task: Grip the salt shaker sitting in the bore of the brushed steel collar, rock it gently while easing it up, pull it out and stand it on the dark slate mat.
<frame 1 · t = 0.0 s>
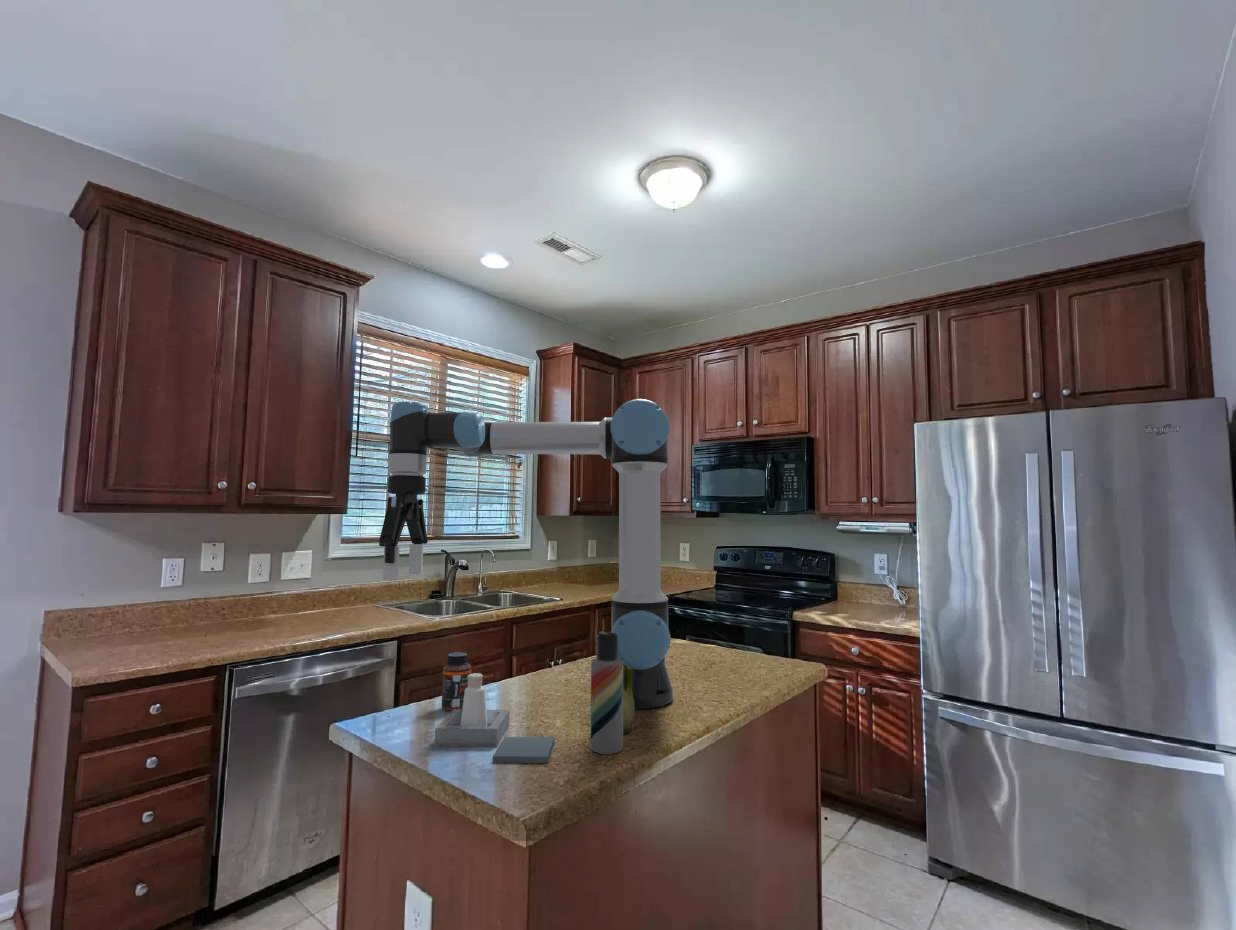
hand: (403, 577, 126), 28 cm above the countertop, tool pointing down, fingers open, 13 cm apart
salt shaker: (473, 736, 112), resting in collar
lotion bottle: (606, 750, 105), on the countertop
collar: (473, 735, 112), on the countertop
supplement bottle: (455, 709, 128), on the countertop
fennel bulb: (619, 732, 114), on the countertop
mat: (525, 752, 104), on the countertop
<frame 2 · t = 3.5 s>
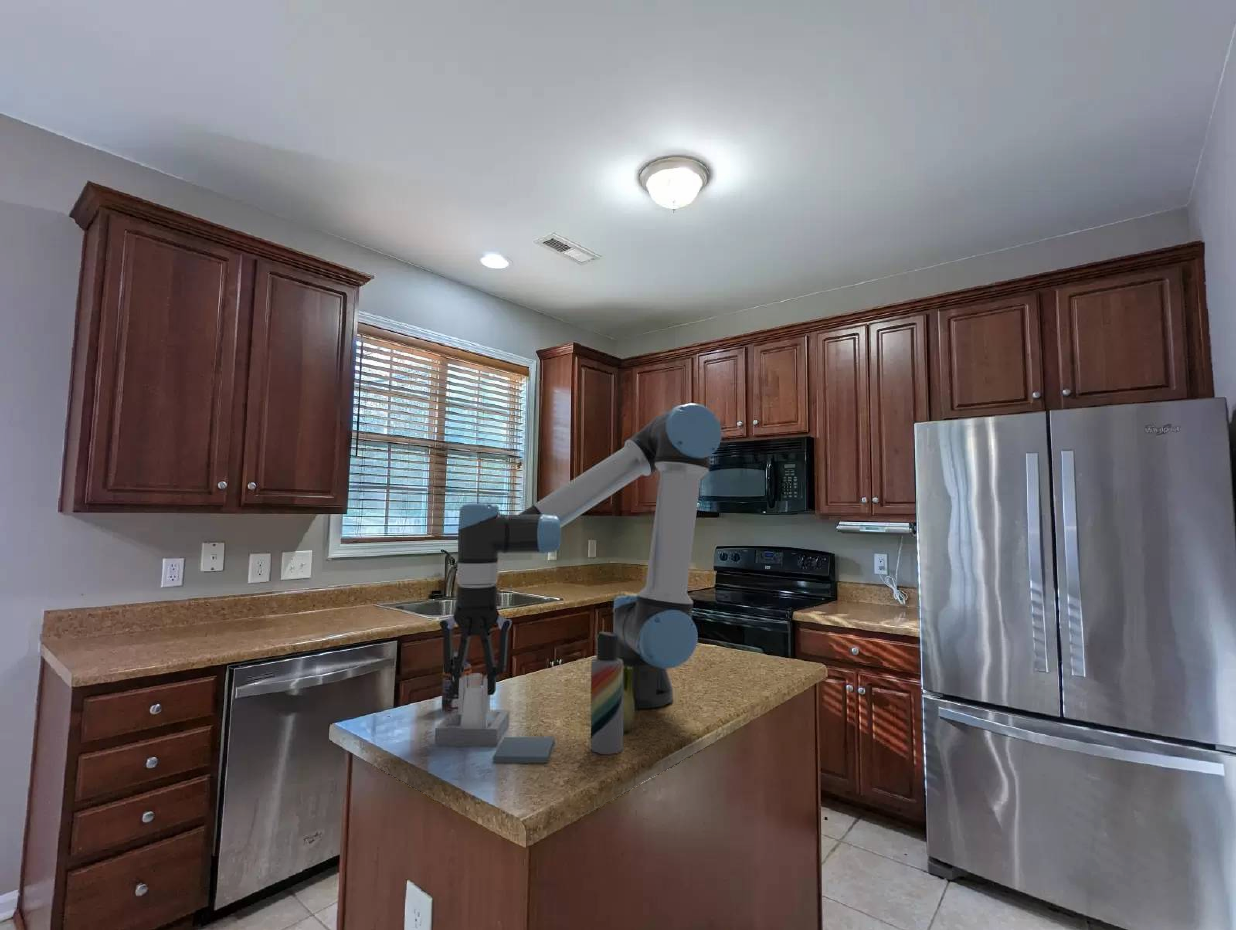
hand: (474, 712, 112), 4 cm above the countertop, tool pointing down, fingers closed on salt shaker, 4 cm apart
salt shaker: (473, 736, 112), resting in collar, touching gripper
everything else where it was.
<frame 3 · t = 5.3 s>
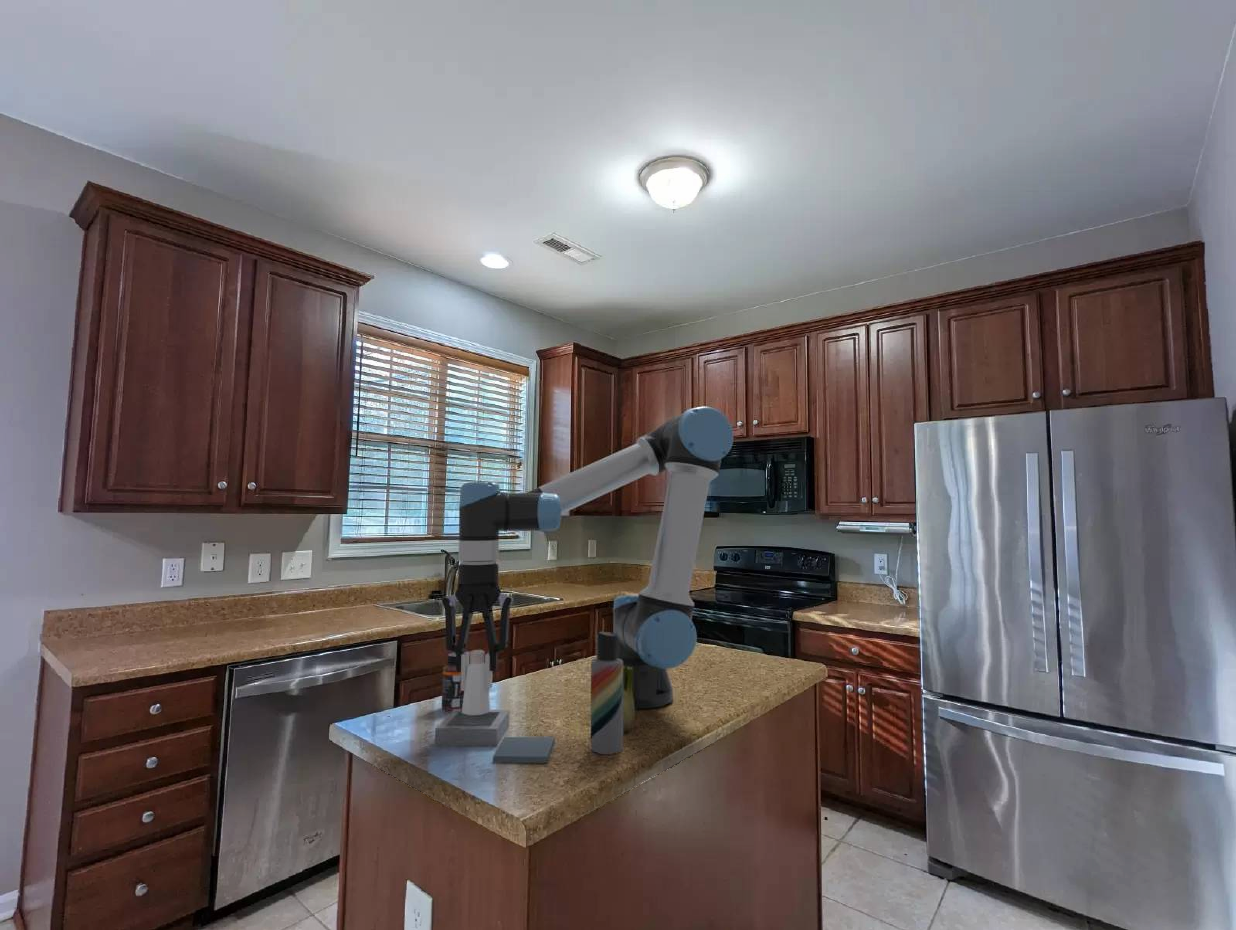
hand: (476, 688, 113), 8 cm above the countertop, tool pointing down, fingers closed on salt shaker, 4 cm apart
salt shaker: (476, 712, 113), point 4 cm above the countertop, touching gripper
everything else where it was.
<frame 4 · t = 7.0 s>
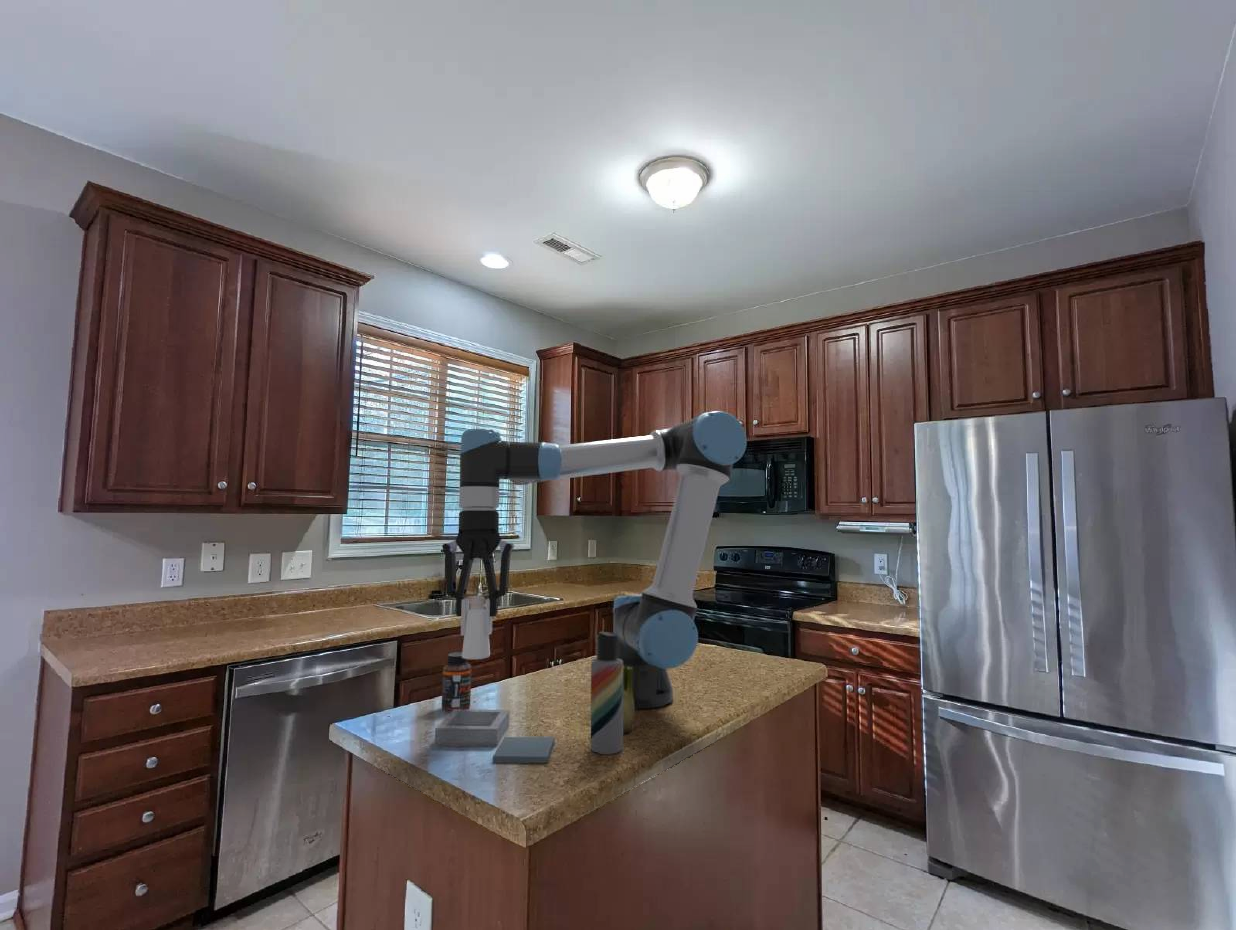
hand: (476, 633, 114), 18 cm above the countertop, tool pointing down, fingers closed on salt shaker, 4 cm apart
salt shaker: (476, 657, 113), point 14 cm above the countertop, touching gripper
everything else where it was.
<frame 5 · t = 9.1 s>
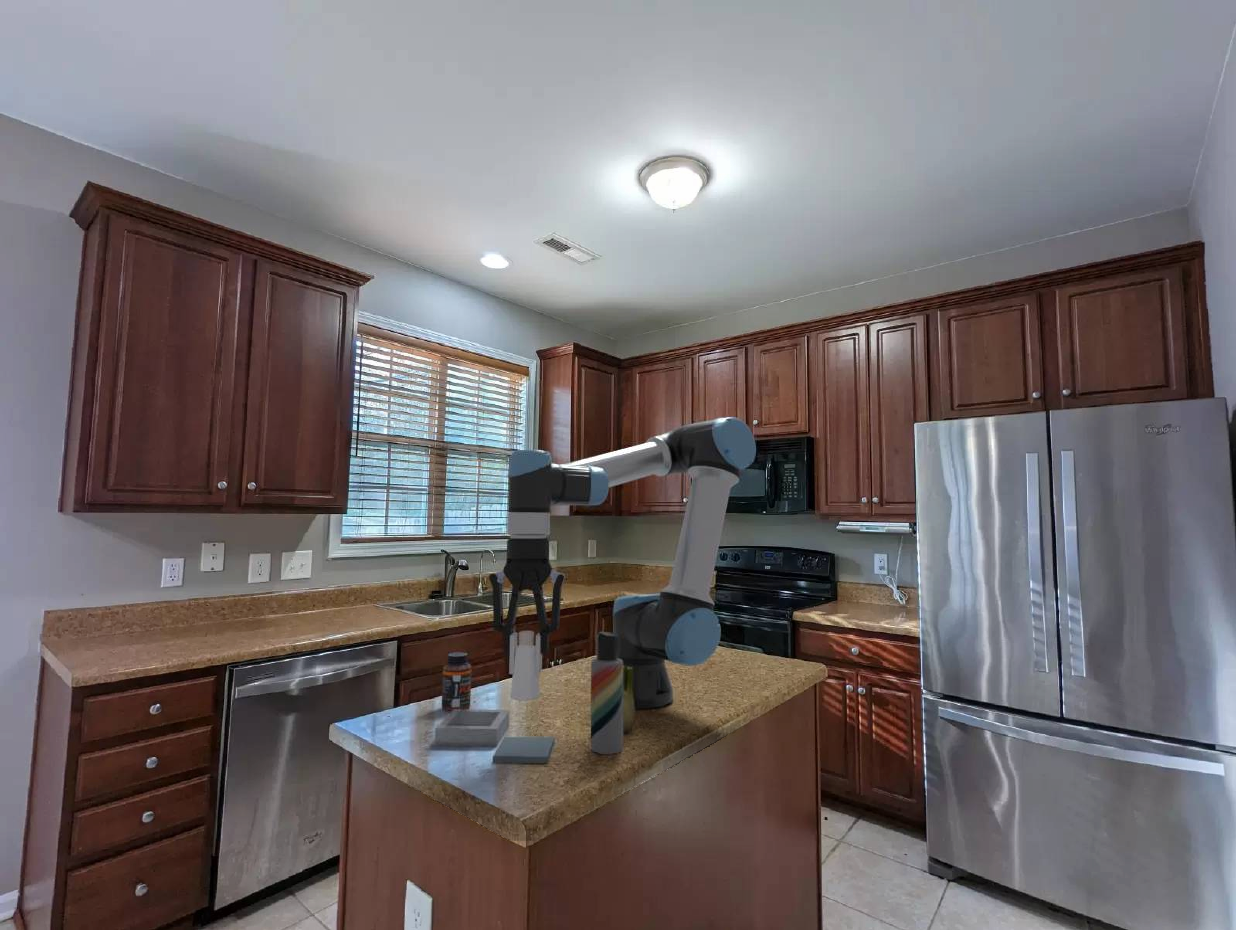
hand: (525, 672, 105), 13 cm above the countertop, tool pointing down, fingers closed on salt shaker, 4 cm apart
salt shaker: (525, 697, 105), point 9 cm above the countertop, touching gripper
everything else where it was.
when the fingers open (7 cm above the countertop, at t = 10.5 s): salt shaker drops 1 cm, resting on mat.
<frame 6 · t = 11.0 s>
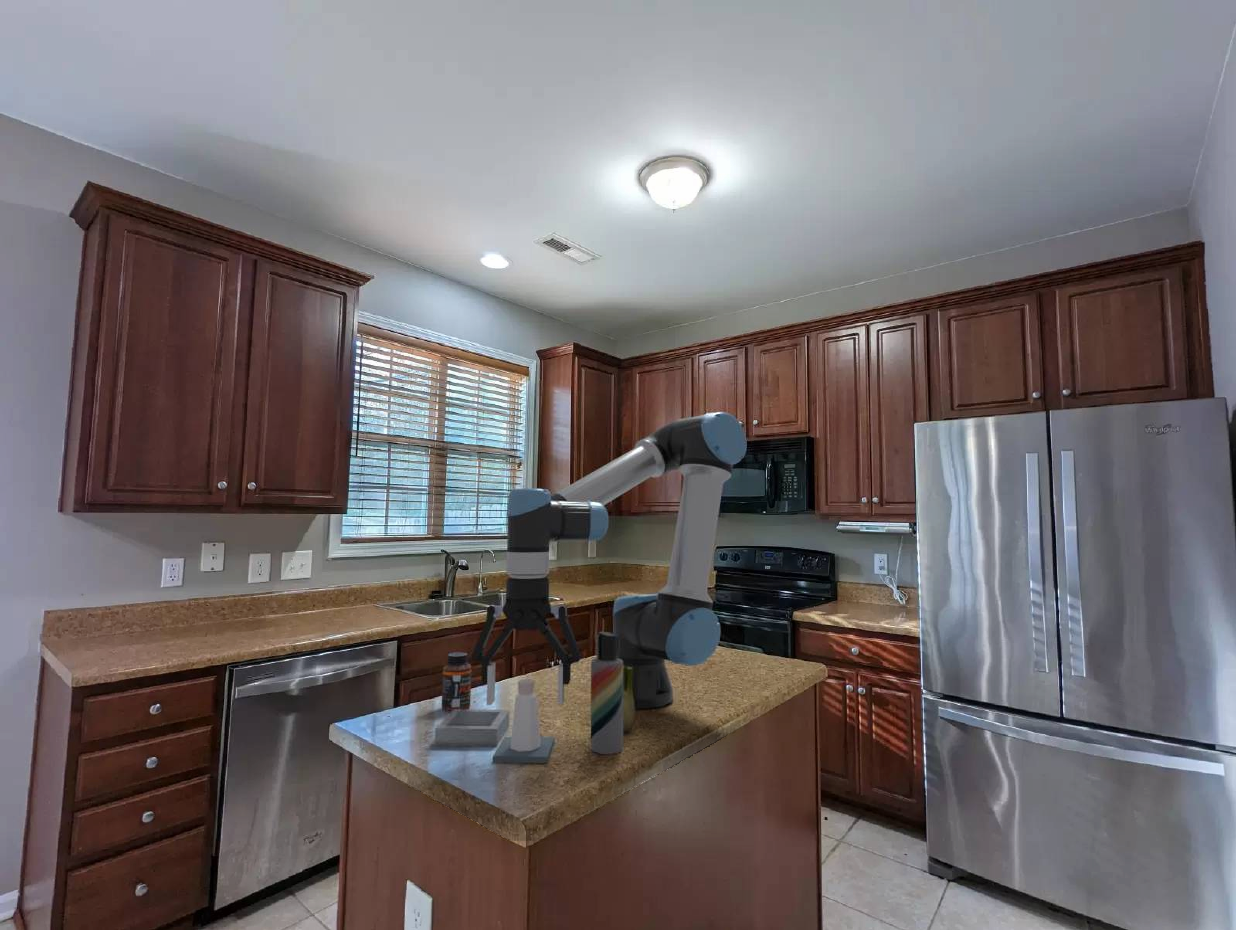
hand: (525, 703, 105), 8 cm above the countertop, tool pointing down, fingers open, 11 cm apart
salt shaker: (525, 747, 104), point 1 cm above the countertop, touching mat
everything else where it was.
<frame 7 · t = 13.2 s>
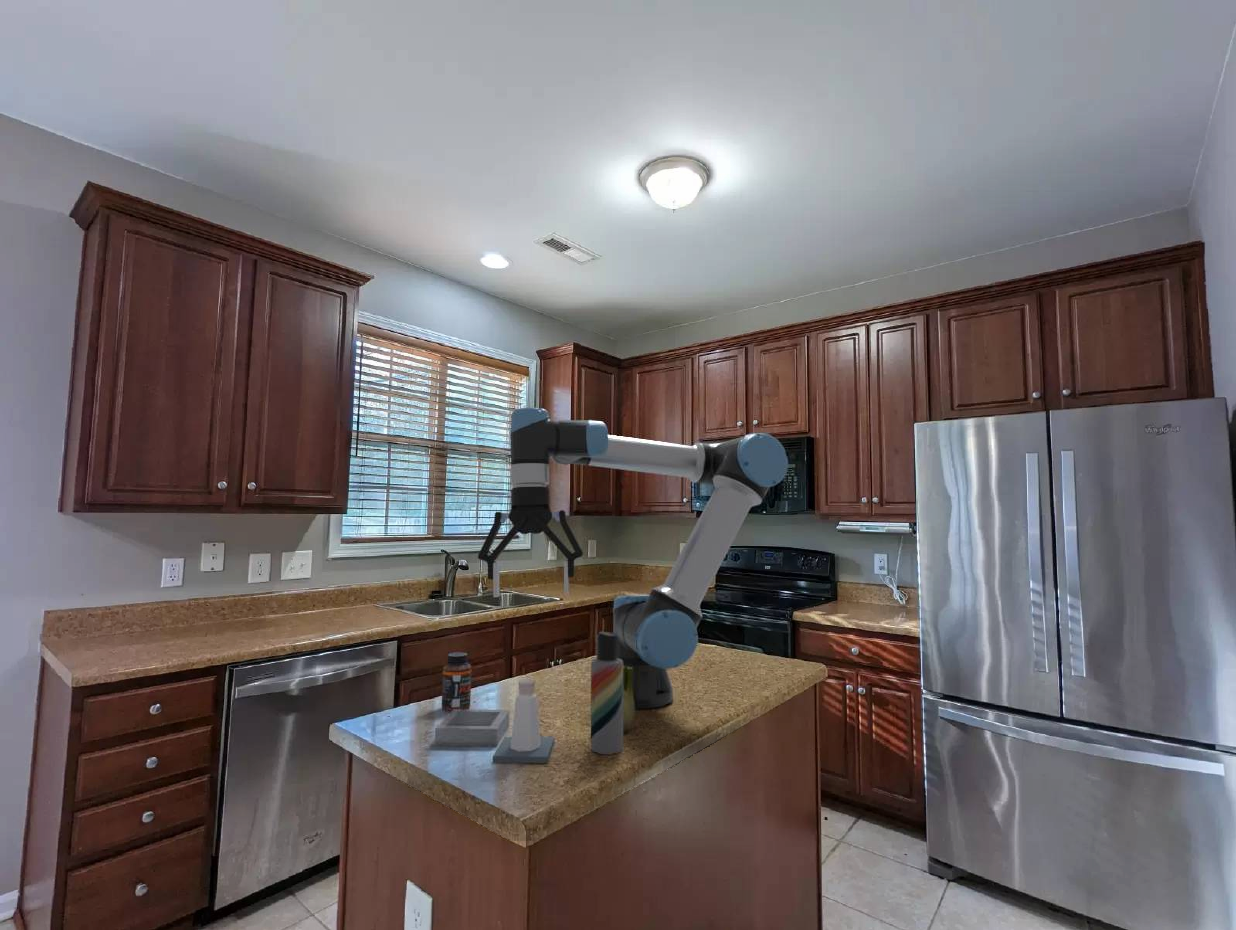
hand: (531, 595, 118), 25 cm above the countertop, tool pointing down, fingers open, 13 cm apart
nothing on the countertop moved.
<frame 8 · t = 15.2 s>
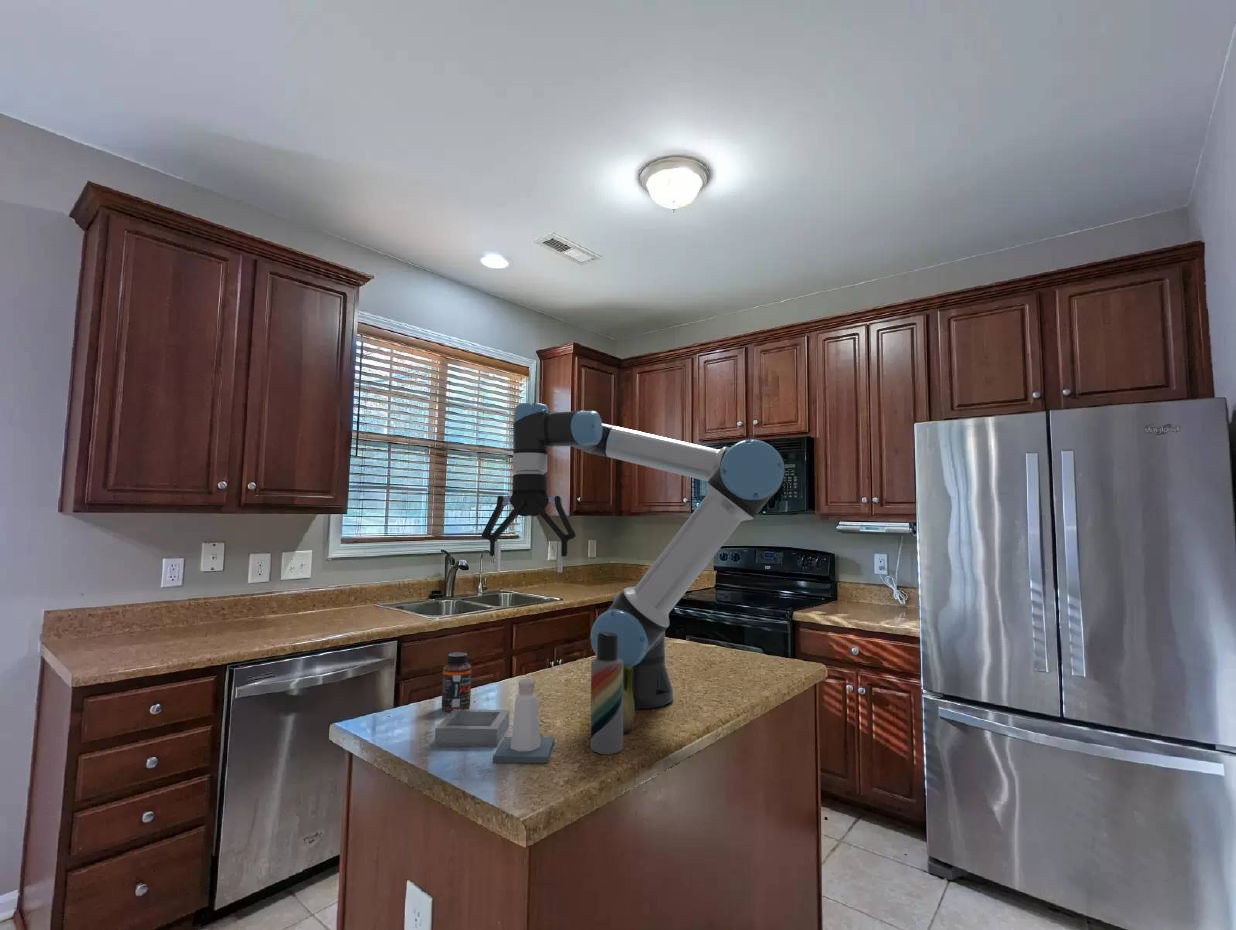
hand: (528, 572, 131), 29 cm above the countertop, tool pointing down, fingers open, 13 cm apart
nothing on the countertop moved.
at the end: salt shaker inside the target area on the mat (0.1 cm from its centre), point 0.8 cm above the mat's base; salt shaker tilted 0°; salt shaker touching mat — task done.
